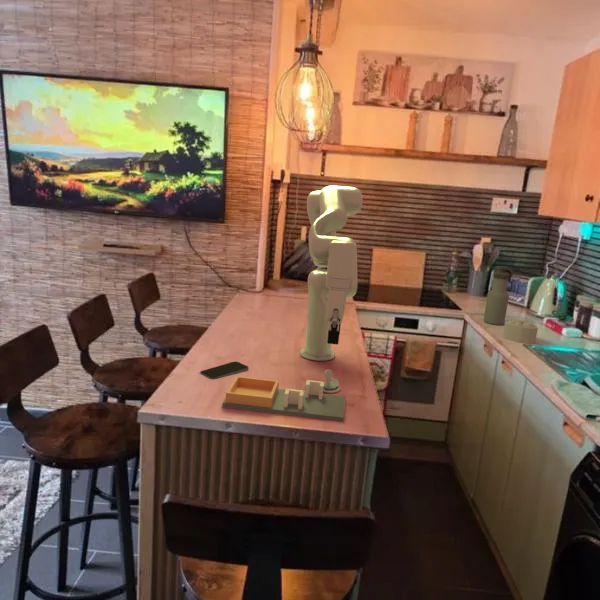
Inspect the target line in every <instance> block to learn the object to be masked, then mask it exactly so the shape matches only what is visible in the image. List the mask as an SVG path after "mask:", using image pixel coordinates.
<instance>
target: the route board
mask: <svg viewBox="0 0 600 600" xmlns="http://www.w3.org/2000/svg"><path fill="white" fill-rule="evenodd" d="M324 384H325V381H322V380H320V381H319V380H310V379H306V382H305V390H302V389H294V388H293V389H292V388H285V389H284V388H278V391H277V394H276V397H275V399H274V402H273V404H272V407H271V408H269V407H260V406H252V405H244V404H235V403H227V402H226V397H225V398H224V400H223V401H222V404H221V405H222V407H221V408H226V409H227V408H228V409H234V410H242V411H243V410H244V411H251V412H258V413H260V412H261V413H268V414H277V415H284V416H286V415H287V416H290V417H291V416H293V417H301V418H309V419H318V420H327V421H334V422H335V421H336V422H341V423H342V422H343V423H344V418H345V407H346V406H345V404H346V396H343V395H335V394H329V393H326V394H325V393H324V391H323V388H324Z"/></svg>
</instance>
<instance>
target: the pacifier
mask: <svg viewBox="0 0 600 600" xmlns="http://www.w3.org/2000/svg"><path fill="white" fill-rule="evenodd" d="M324 378H325V381H324V388H323V393H326V394H334V393H337V392H340V390H341V389H342V388H341V387H340V386H339V380H338V379H336V378H333V371H332V369H331V368H330V369H326V370H325V371H324Z"/></svg>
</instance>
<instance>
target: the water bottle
mask: <svg viewBox="0 0 600 600" xmlns="http://www.w3.org/2000/svg"><path fill="white" fill-rule="evenodd" d="M495 269H496V270H495V271H494V273H493V282H492V285H491V286H492V287H491V290H489V291H488V292H487V297H486V300H485V301H486V302H485V306H484V307H485V308H484V315H483V322H484V323H486V324H489V325H492V326H502V325H505V322H506V316H507V312H508V311H507V309H508V303H509V298H510V294H509V293H508V292H512V290H513V287H514V283H513V281H512V278H513V277H514V270H513V269H512V268H511V267H509V266H504V265H496V266H495ZM504 270H505V271H504ZM508 282H509V283H510V287H509V289H508V288H507V287H508V284H509V283H508Z"/></svg>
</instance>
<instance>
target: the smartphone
mask: <svg viewBox="0 0 600 600" xmlns="http://www.w3.org/2000/svg"><path fill="white" fill-rule="evenodd" d="M248 370H249V366H248V365H245V364H244V363H242V362H240V361H231V362H228V363H225V364H222V365H218V366H214V367H211V368H210V367H209V368H207V369H203V370H200V372H199V373H201V375H203V376H204V377H206V378H208V379H210V380H217V379H221V378H224V377H228V376H232V375H236V374H238V373H242V372H245V371H248Z"/></svg>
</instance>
